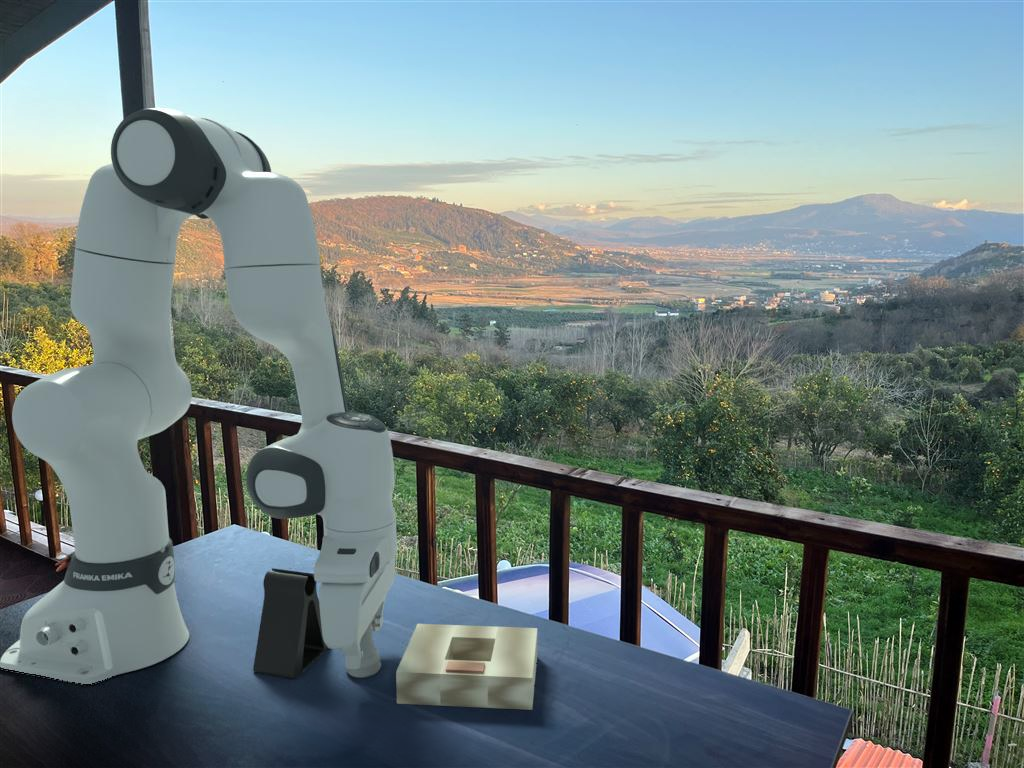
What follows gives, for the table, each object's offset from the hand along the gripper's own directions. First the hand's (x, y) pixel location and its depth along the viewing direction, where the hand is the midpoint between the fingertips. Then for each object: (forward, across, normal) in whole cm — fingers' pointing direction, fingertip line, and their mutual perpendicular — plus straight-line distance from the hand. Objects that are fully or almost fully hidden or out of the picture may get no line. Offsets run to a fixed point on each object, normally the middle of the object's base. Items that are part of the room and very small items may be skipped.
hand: (365, 646), depth 93 cm
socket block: (+3, +1, +14) cm, 14 cm away
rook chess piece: (+3, 0, 0) cm, 3 cm away
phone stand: (+3, -2, -10) cm, 11 cm away
